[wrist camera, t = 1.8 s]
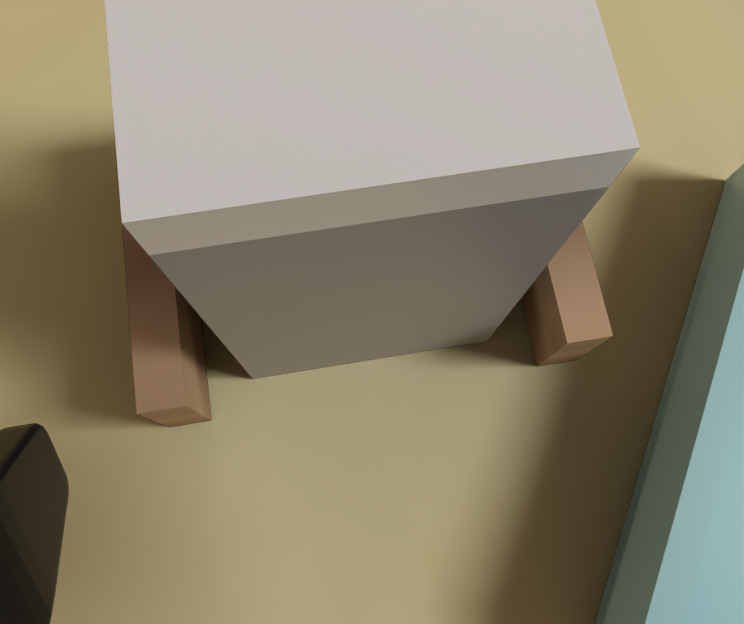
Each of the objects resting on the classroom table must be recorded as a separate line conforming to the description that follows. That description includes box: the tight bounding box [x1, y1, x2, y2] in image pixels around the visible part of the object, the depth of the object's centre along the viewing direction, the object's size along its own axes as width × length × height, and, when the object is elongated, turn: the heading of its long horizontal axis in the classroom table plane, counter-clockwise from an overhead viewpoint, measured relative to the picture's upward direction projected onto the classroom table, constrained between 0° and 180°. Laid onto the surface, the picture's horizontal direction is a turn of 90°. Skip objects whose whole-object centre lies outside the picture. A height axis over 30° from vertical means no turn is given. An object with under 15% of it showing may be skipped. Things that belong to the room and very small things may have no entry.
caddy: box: [105, 0, 640, 379], centre depth 15 cm, size 5×7×12 cm
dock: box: [122, 222, 613, 427], centre depth 20 cm, size 9×12×3 cm
